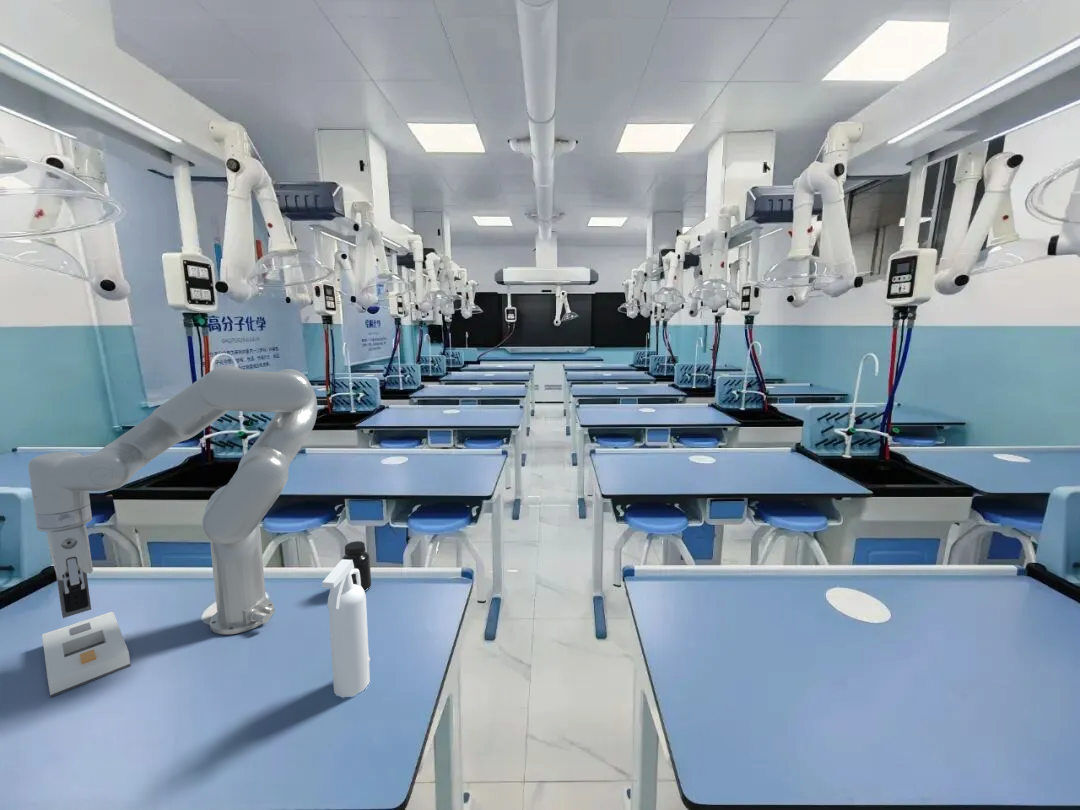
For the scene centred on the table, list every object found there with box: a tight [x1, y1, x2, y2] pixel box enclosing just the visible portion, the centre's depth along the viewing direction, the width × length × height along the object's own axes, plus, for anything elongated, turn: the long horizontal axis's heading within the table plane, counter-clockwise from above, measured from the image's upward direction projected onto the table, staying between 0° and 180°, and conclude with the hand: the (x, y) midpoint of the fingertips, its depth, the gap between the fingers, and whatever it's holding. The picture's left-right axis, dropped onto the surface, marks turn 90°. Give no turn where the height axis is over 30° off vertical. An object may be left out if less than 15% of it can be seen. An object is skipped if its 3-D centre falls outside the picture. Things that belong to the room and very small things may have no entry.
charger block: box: [55, 570, 92, 619], centre depth 93 cm, size 4×4×8 cm
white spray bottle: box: [321, 558, 371, 697], centre depth 87 cm, size 7×12×25 cm, turn 173°
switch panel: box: [41, 611, 131, 698], centre depth 95 cm, size 20×11×4 cm, turn 48°
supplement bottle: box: [341, 540, 372, 590], centre depth 120 cm, size 7×7×12 cm
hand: (75, 603), depth 93 cm, fingers closed on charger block, 4 cm apart
